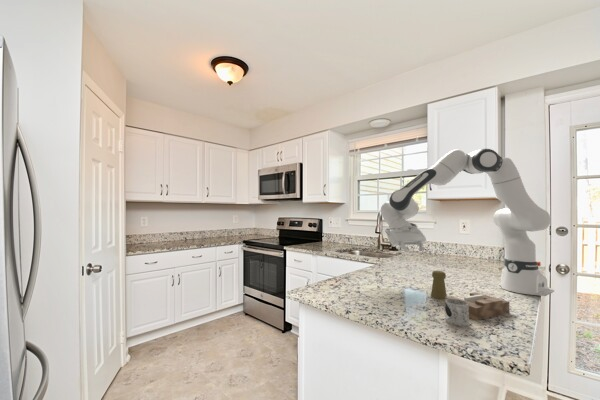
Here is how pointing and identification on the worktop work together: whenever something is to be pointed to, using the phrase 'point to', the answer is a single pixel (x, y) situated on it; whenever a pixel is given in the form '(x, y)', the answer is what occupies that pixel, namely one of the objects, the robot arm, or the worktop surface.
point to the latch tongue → (474, 298)
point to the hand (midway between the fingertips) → (415, 250)
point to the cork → (438, 285)
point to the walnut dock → (485, 307)
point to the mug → (457, 312)
